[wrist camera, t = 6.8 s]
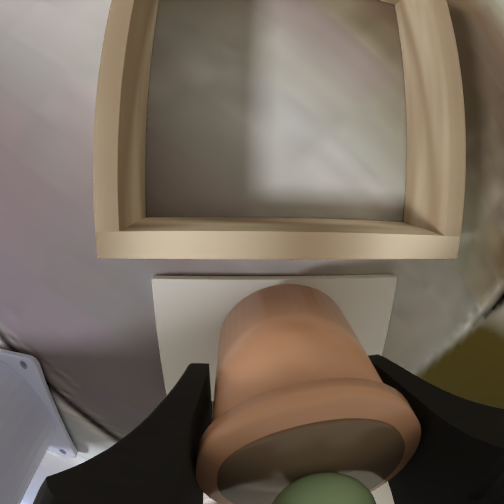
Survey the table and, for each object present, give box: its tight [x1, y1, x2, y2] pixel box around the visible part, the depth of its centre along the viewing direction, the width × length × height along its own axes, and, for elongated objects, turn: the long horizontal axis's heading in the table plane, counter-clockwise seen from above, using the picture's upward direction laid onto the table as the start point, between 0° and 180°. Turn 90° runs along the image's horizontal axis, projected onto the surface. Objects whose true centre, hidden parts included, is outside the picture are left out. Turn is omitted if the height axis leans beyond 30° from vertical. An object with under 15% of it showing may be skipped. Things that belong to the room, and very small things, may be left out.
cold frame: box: [93, 0, 466, 259], centre depth 9 cm, size 12×12×3 cm
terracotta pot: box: [195, 284, 421, 504], centre depth 8 cm, size 6×6×8 cm
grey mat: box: [152, 274, 397, 401], centre depth 13 cm, size 10×6×1 cm, turn 89°
